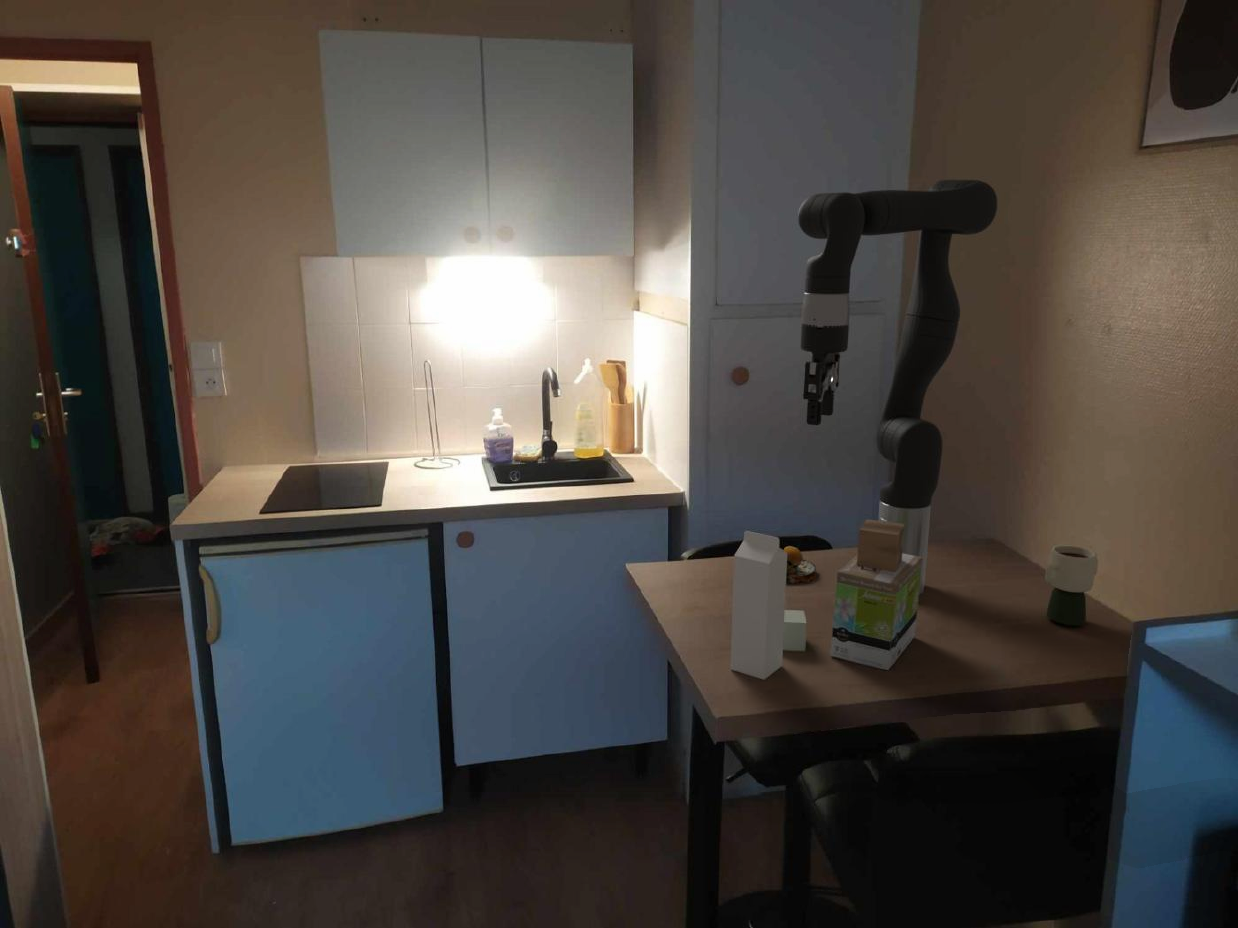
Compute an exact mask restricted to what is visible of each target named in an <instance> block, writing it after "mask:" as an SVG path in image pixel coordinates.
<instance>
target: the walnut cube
mask: <svg viewBox="0 0 1238 928" xmlns="http://www.w3.org/2000/svg"><path fill="white" fill-rule="evenodd" d="M904 526H905V524H899V523H891V522H884V521H878V520H874V519H869V518H868V519H866V520H865V521H864V522H863V524H862V525H861V527H860V528H859V529H858V530H859V531H858V541H857V542H858V545H857V554H858V555H857V554H856V555H857V566H863V567H869V568H876V569H883V570H889V571H896V570H897V568H898V566H899V564H900V562H901V560H902V551H903V539H904Z"/></svg>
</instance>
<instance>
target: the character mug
mask: <svg viewBox="0 0 1238 928" xmlns="http://www.w3.org/2000/svg"><path fill="white" fill-rule="evenodd" d="M1048 562H1049V563H1048V564H1047V565H1046V568H1045V575H1044V576H1045V577H1044V580H1045V582H1046V583H1048V584H1049V583H1050V585H1051V586H1052V587H1054V588H1053V589H1052V591H1051V595H1050V596H1049V597H1050V598H1049V601H1048V605H1047V609H1046V614H1045V616H1046V619H1049V620H1052V621H1055V622H1057V623H1058V624H1062V625H1063V624H1064V625H1067V626H1073V627H1074V626H1075V627H1076V626H1081V625H1084V624H1085V623H1087V621H1086V619H1087V618H1086V617H1087V601H1086V594H1085V593H1087V592H1090V591H1091V590H1092V588H1093V586H1094V581H1095V576H1096V575H1097V572H1098V566H1099V565H1098V564H1099V560H1098V554H1097V553H1096V551H1094V550H1092V549H1089V548H1086V547H1083V546H1079V545H1070V544H1058V545H1055V546H1053V547H1051V551H1050V557H1049V561H1048Z"/></svg>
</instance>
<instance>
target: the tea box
mask: <svg viewBox="0 0 1238 928" xmlns="http://www.w3.org/2000/svg"><path fill="white" fill-rule="evenodd" d="M857 555H858V553H857V554H856V555H855V556H854V557H852V558H851V559H850V561H848V562H847V563H846V564H844V566H843V567H841V568H840V569H839V570H838V571H837V576H836V583H835V585H836V587H835V599H834V610H833V621H832V632H831V642H830V654H829V655H830V657H834V658H837V659H841V660H844V661H847V662H853V663H856V664H859V665H864V666H867V667H868V666H869V667H872V668H876V669H881V670H885V671H889V670H890V668H892V666H893V665H894V664H895V663H896V661H897V660H898V658H899V657H900V656H901V654H902V653H903V652H904V651H905V650H906V648H907V647H908V645H909V644H910V643H911V642H912V640H913V639H914V637H915V634H916V628H917V627H916V624H917V615H918V607H919V606H918V605H919V597H920V594H919V589H920V578H921V569H922V557H918V556H913V555H908V554H902V560H901V562H900V564H899V566H898V568H897V570H896V571H889V570H883V569H876V568H869V567H863V566H857Z"/></svg>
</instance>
